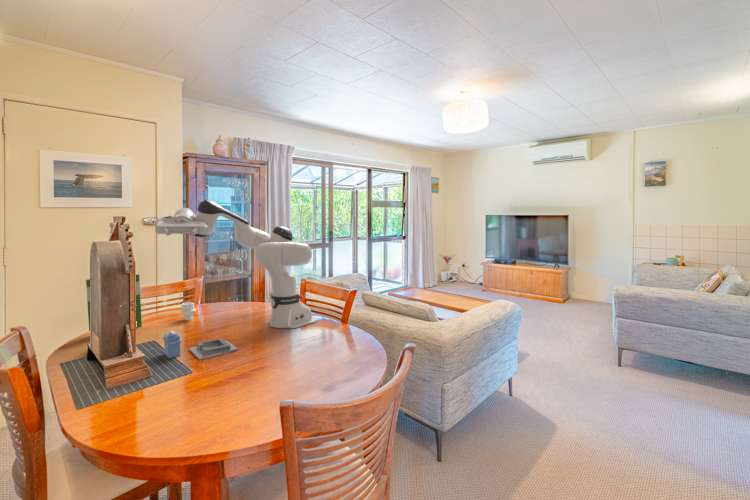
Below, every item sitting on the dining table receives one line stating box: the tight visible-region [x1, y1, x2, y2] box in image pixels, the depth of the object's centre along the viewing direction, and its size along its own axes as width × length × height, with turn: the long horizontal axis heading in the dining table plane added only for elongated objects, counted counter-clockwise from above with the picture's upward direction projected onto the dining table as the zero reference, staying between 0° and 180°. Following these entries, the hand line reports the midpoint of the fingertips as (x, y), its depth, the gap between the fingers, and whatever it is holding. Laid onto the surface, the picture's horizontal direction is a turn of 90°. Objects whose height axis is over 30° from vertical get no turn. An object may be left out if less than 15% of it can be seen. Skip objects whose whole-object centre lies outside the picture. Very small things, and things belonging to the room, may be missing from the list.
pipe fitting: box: [179, 301, 197, 321], centre depth 181 cm, size 6×7×8 cm
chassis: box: [189, 337, 239, 361], centre depth 142 cm, size 14×12×2 cm
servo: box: [162, 329, 182, 359], centre depth 137 cm, size 4×8×9 cm, turn 41°
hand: (180, 233), depth 159 cm, fingers open, 8 cm apart
